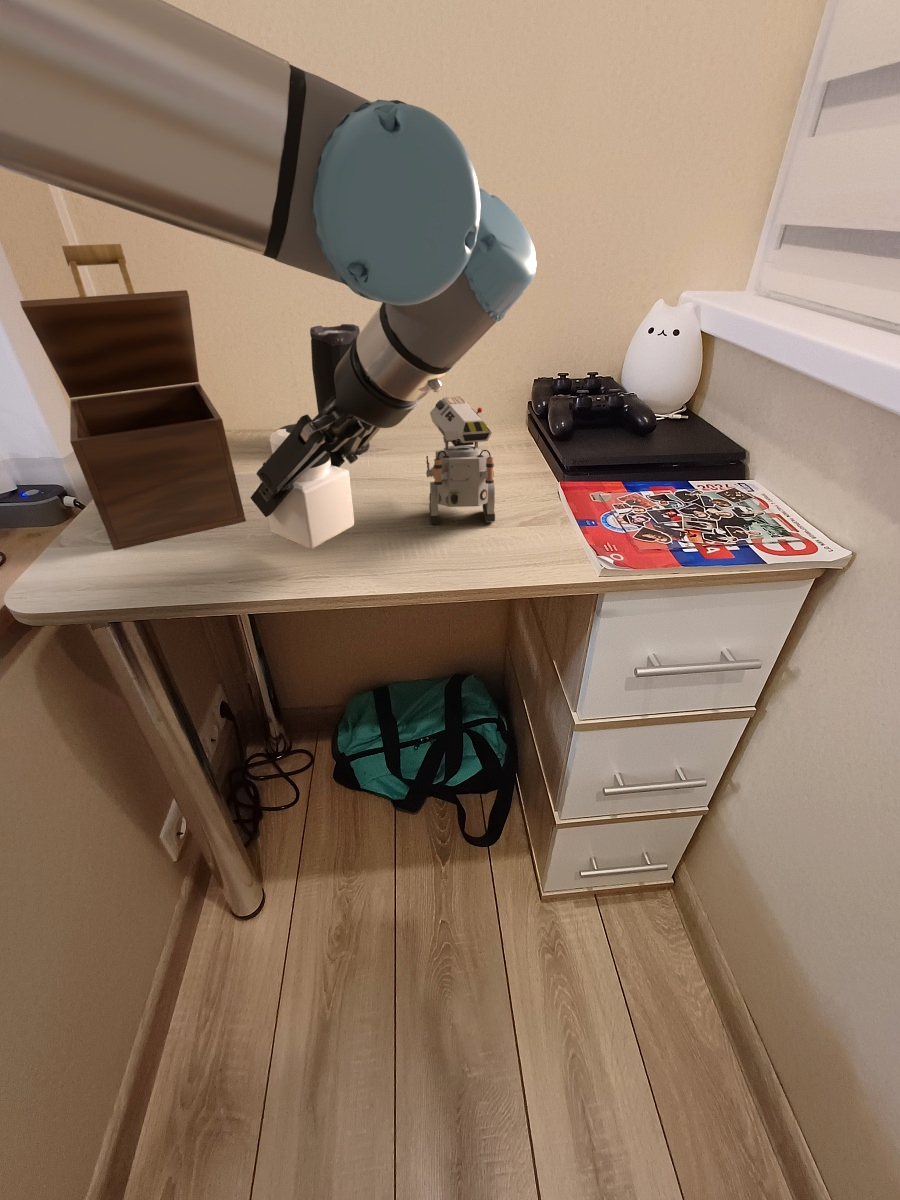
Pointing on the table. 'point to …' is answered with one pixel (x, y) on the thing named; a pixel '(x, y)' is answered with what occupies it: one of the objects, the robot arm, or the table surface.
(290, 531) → the medicine bottle
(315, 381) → the portable speaker
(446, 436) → the figurine
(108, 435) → the chest
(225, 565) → the table surface
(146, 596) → the table surface
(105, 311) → the chest lid
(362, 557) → the table surface
